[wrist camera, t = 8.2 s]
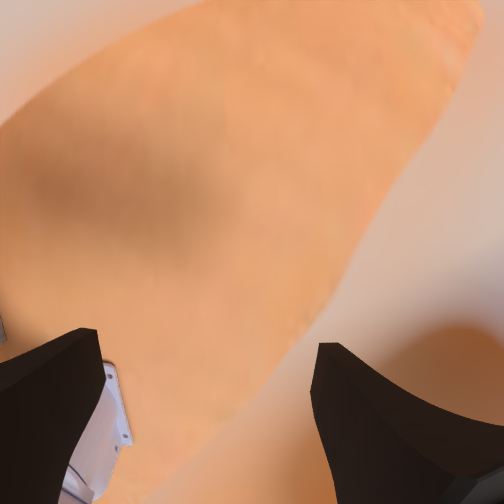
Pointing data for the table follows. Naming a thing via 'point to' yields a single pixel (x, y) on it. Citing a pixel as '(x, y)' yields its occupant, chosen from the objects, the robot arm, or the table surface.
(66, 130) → the table surface
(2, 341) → the plate
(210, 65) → the table surface
